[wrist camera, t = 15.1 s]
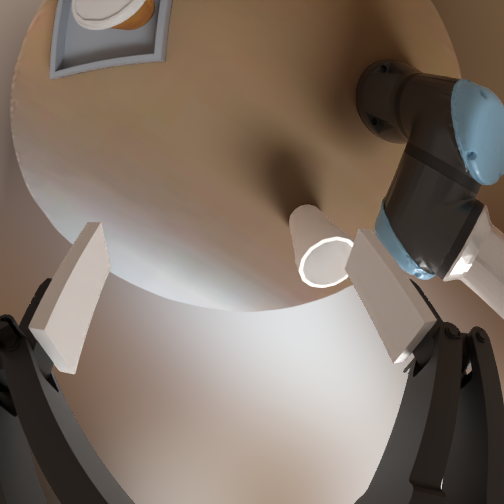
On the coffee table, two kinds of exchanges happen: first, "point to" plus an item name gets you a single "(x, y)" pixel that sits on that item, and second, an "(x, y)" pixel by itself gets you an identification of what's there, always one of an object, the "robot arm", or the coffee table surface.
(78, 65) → the slate tray
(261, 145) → the coffee table surface
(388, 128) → the robot arm
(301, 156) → the coffee table surface
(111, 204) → the coffee table surface
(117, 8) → the disposable coffee cup
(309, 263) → the foam cup
